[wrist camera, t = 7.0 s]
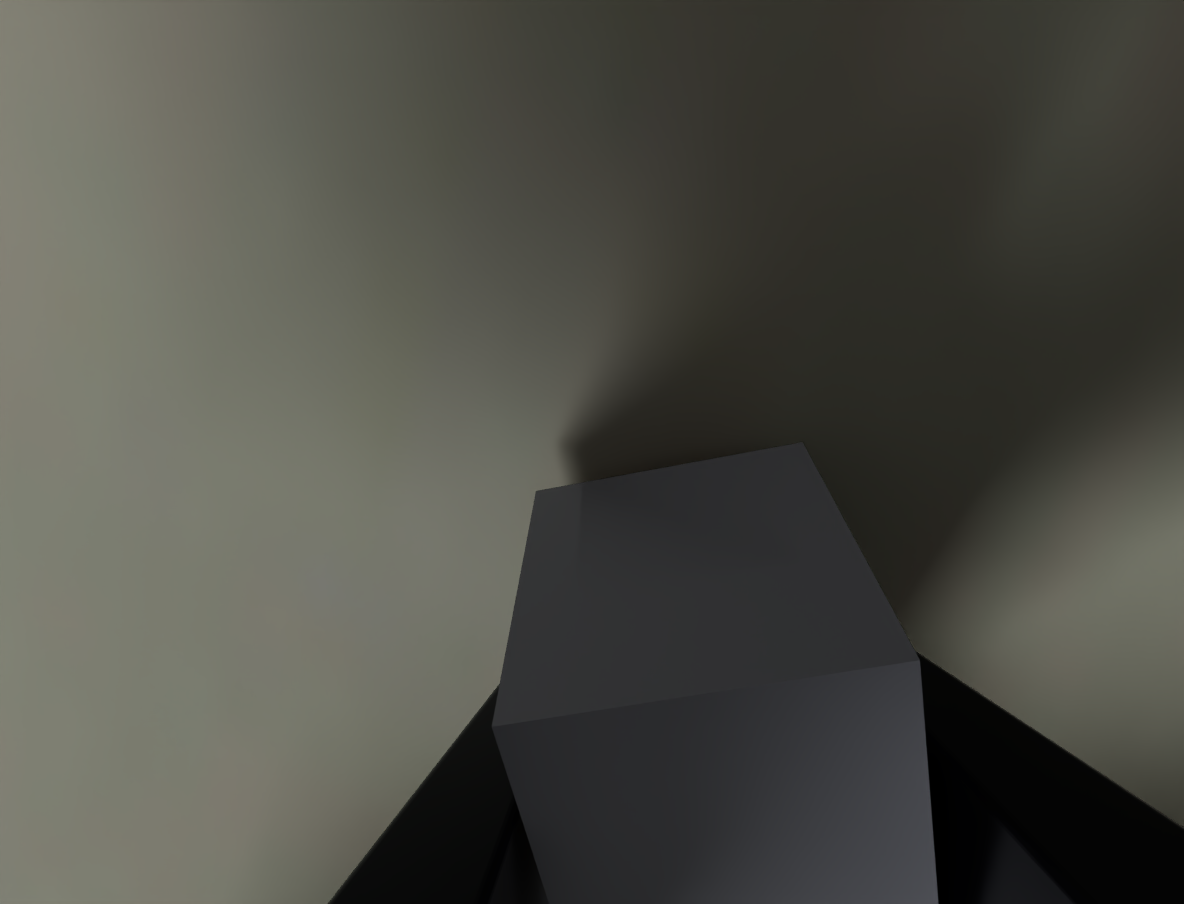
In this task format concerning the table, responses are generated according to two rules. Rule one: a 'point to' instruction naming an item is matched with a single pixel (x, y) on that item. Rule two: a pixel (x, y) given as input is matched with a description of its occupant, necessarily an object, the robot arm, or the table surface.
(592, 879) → the gray mallet
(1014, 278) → the table surface
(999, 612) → the table surface
